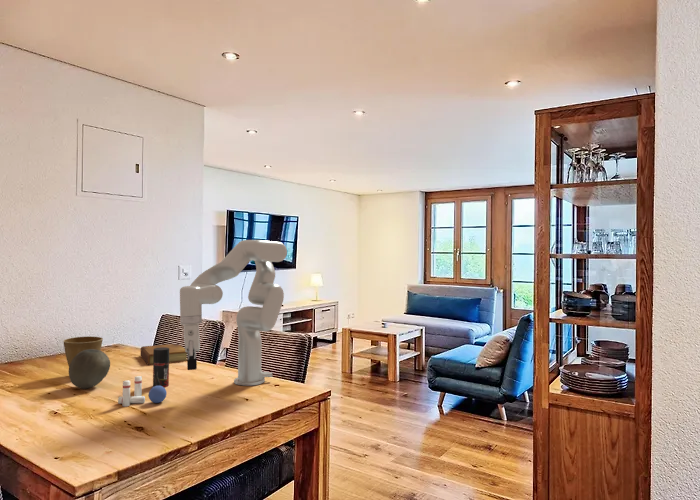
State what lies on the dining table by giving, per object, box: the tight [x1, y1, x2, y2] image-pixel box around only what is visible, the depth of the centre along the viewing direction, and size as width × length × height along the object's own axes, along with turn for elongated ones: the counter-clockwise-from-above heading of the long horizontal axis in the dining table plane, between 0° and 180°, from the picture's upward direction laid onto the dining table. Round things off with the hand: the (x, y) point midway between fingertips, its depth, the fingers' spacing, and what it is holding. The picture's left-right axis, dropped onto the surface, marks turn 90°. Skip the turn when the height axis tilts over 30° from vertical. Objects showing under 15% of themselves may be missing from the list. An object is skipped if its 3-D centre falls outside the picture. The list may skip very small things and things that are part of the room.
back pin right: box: [133, 375, 143, 396], centre depth 176 cm, size 2×2×8 cm
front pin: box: [117, 395, 146, 405], centre depth 172 cm, size 2×2×8 cm
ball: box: [148, 386, 168, 404], centre depth 174 cm, size 6×6×6 cm
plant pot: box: [63, 336, 104, 367], centre depth 209 cm, size 15×15×16 cm
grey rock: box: [68, 349, 111, 390], centre depth 192 cm, size 14×14×15 cm
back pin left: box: [122, 379, 131, 408], centre depth 170 cm, size 2×2×8 cm
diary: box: [139, 343, 188, 366], centre depth 246 cm, size 23×19×6 cm
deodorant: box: [152, 347, 170, 388], centre depth 196 cm, size 6×6×15 cm
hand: (192, 369), depth 178 cm, fingers closed
